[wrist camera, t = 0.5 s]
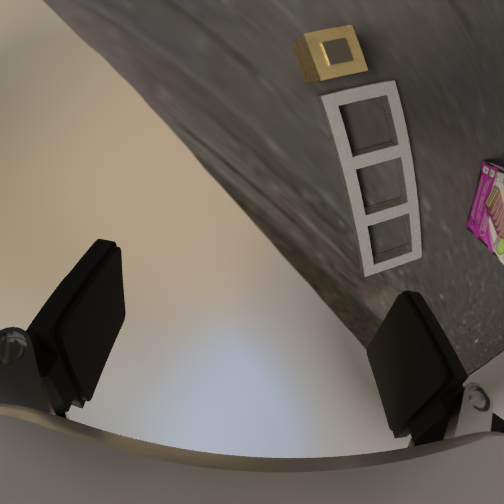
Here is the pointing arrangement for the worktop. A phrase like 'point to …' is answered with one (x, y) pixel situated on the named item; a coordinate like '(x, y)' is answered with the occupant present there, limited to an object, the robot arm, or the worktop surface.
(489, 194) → the candy bar box
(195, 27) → the worktop surface
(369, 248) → the white rectangular frame
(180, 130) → the worktop surface
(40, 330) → the robot arm
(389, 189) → the worktop surface
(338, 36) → the tan hollow block
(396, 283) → the worktop surface
